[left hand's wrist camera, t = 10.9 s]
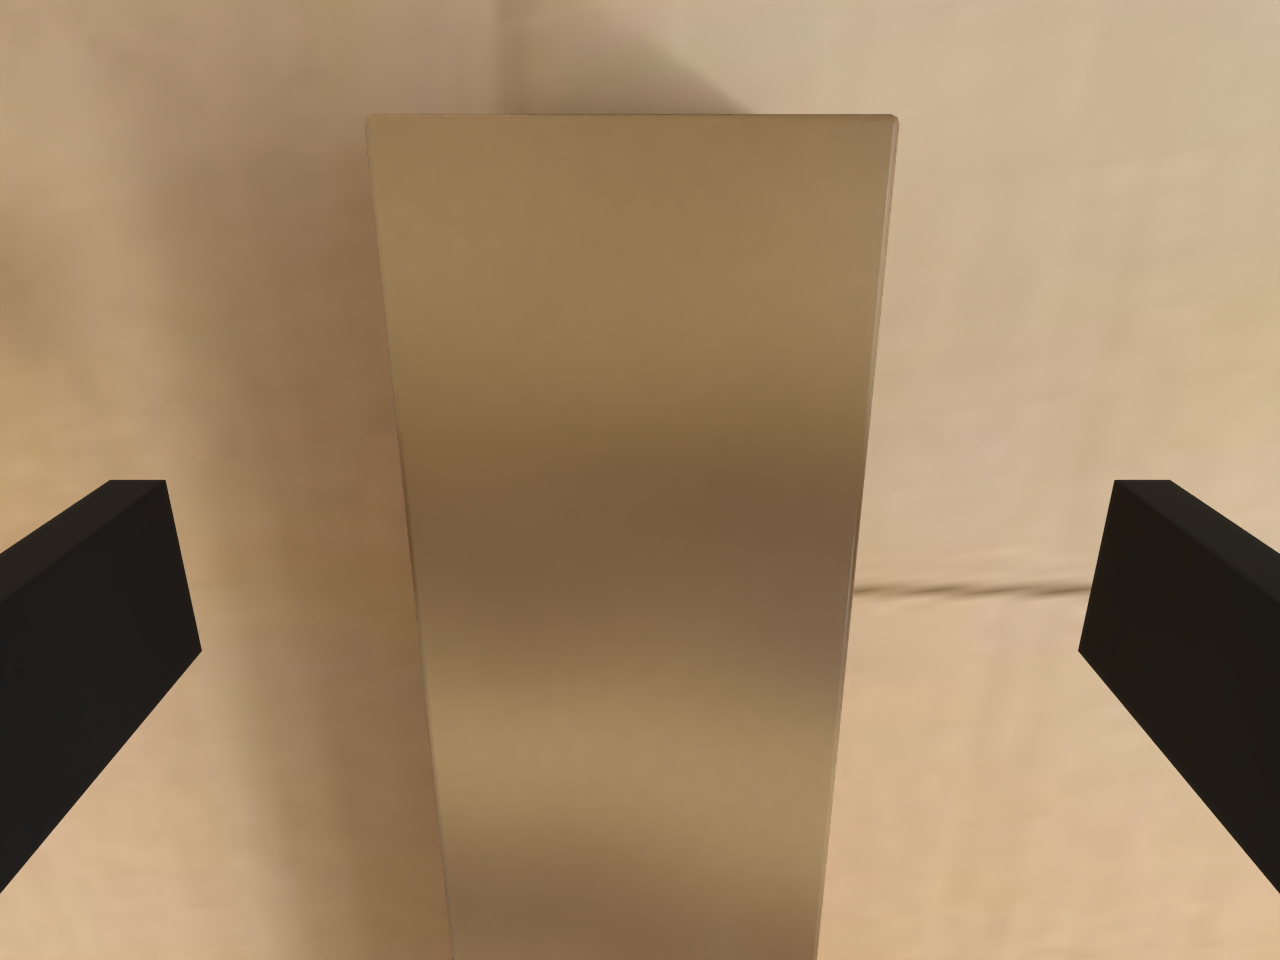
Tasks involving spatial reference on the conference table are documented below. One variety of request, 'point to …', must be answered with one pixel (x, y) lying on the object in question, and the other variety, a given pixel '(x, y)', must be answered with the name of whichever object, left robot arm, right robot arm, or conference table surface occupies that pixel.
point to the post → (633, 510)
